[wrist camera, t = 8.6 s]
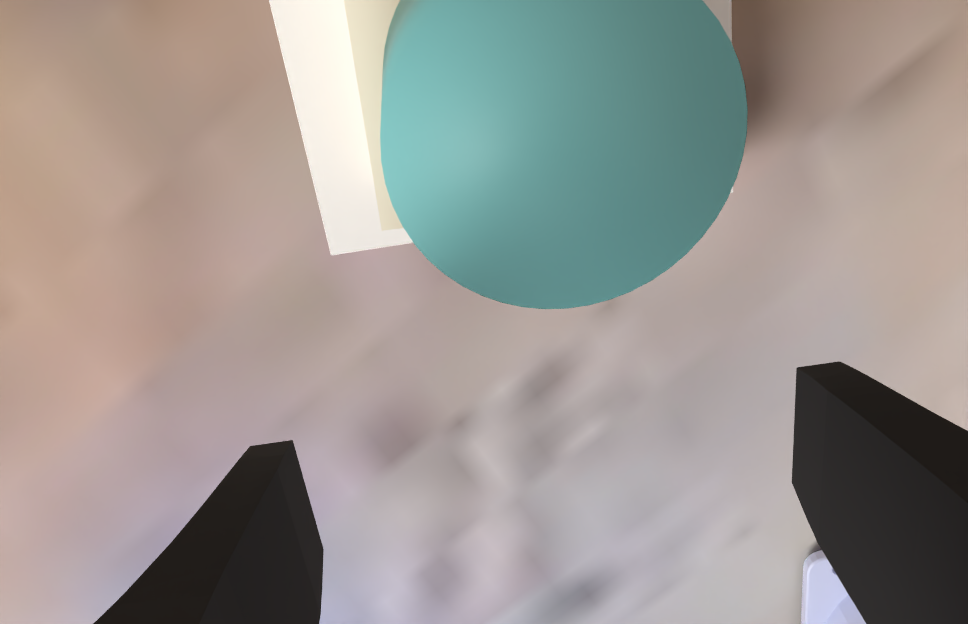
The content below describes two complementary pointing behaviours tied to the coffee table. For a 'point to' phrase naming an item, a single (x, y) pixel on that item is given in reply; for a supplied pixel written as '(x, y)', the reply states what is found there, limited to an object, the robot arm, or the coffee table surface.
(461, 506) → the coffee table surface
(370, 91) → the maple block
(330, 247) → the white slab
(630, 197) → the teal rounded piece
